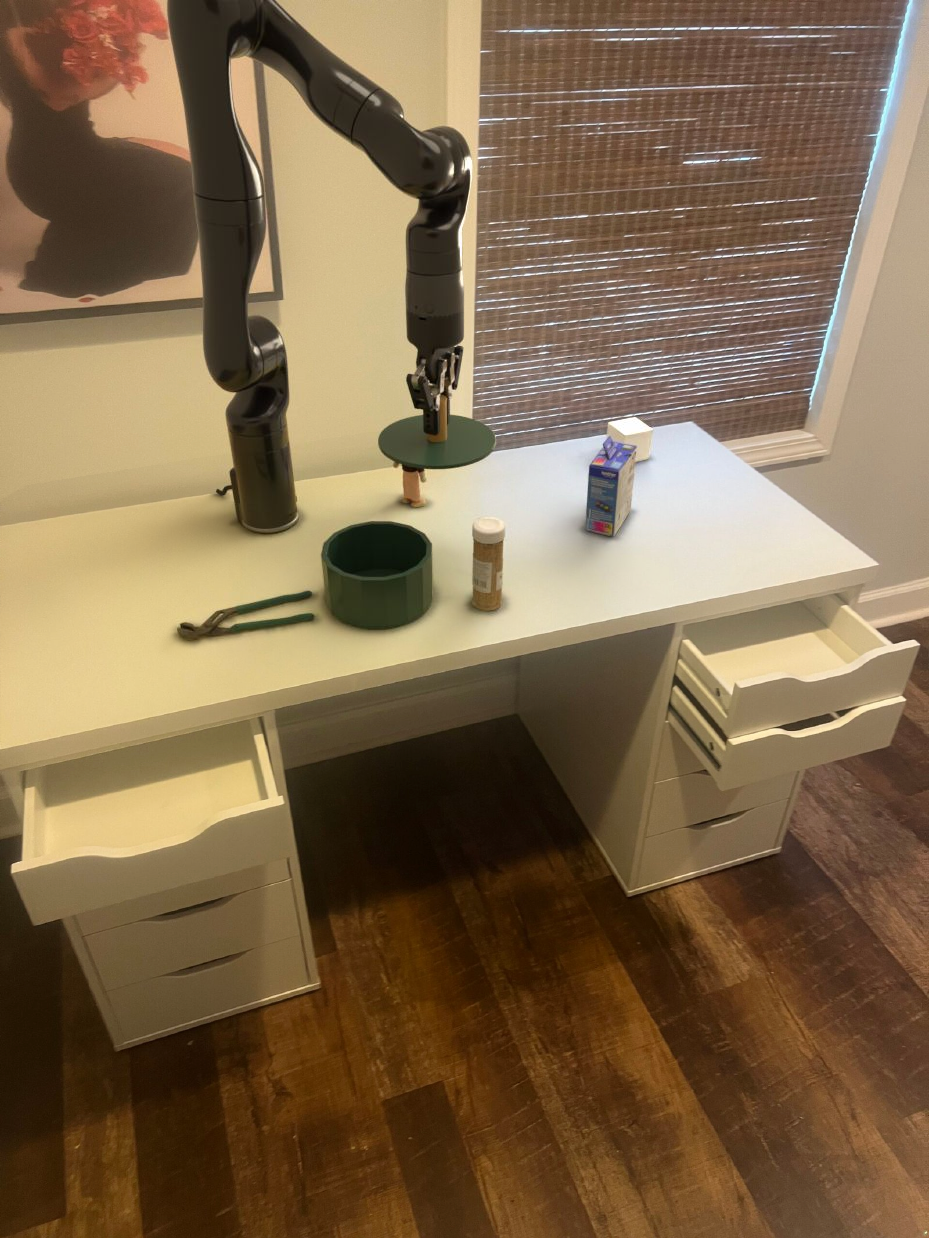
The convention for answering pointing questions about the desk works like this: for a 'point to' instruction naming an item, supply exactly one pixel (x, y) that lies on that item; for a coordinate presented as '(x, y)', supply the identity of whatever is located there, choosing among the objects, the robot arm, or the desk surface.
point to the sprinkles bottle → (487, 562)
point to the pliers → (212, 628)
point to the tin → (378, 574)
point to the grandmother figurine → (412, 485)
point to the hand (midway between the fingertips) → (436, 428)
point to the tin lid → (437, 441)
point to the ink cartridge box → (610, 487)
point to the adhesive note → (632, 435)
